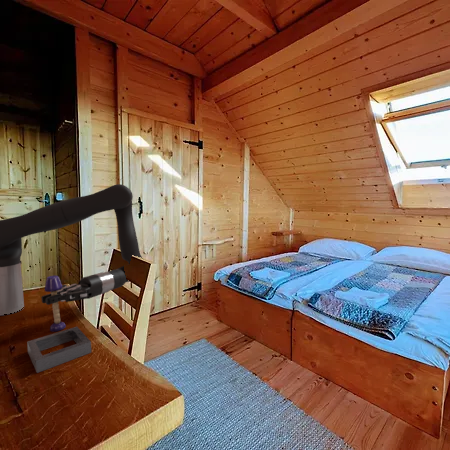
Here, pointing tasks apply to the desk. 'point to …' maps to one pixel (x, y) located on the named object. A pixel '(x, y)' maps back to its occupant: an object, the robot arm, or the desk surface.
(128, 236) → the robot arm
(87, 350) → the square frame
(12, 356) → the desk surface
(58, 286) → the toy lamp
